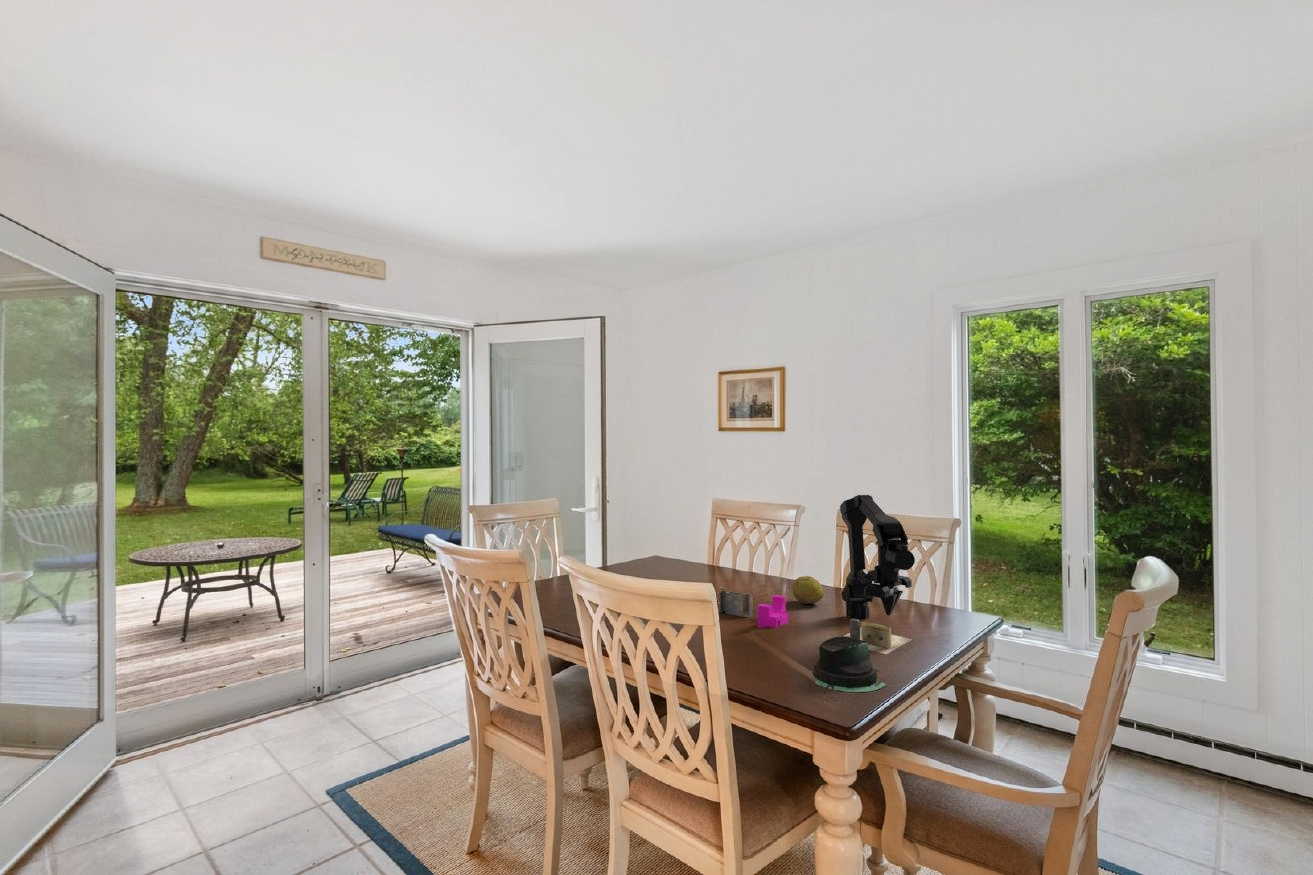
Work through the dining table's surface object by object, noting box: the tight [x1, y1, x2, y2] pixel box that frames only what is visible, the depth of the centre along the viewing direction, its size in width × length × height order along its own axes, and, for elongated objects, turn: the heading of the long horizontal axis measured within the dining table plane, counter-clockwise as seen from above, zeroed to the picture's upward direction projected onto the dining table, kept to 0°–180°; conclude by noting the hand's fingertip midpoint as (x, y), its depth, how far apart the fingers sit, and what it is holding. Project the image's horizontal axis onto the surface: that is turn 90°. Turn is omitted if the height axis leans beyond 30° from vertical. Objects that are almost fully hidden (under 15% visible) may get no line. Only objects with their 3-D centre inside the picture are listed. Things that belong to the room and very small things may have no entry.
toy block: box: [757, 594, 789, 629], centre depth 199 cm, size 15×6×8 cm, turn 148°
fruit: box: [791, 575, 825, 605], centre depth 222 cm, size 11×12×10 cm
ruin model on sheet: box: [718, 586, 754, 619], centre depth 210 cm, size 11×3×10 cm, turn 58°
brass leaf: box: [861, 620, 892, 647], centre depth 175 cm, size 8×1×5 cm, turn 43°
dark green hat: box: [812, 635, 888, 693], centre depth 155 cm, size 20×20×9 cm
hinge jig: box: [843, 618, 913, 655], centre depth 178 cm, size 16×17×7 cm
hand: (888, 615), depth 179 cm, fingers closed
